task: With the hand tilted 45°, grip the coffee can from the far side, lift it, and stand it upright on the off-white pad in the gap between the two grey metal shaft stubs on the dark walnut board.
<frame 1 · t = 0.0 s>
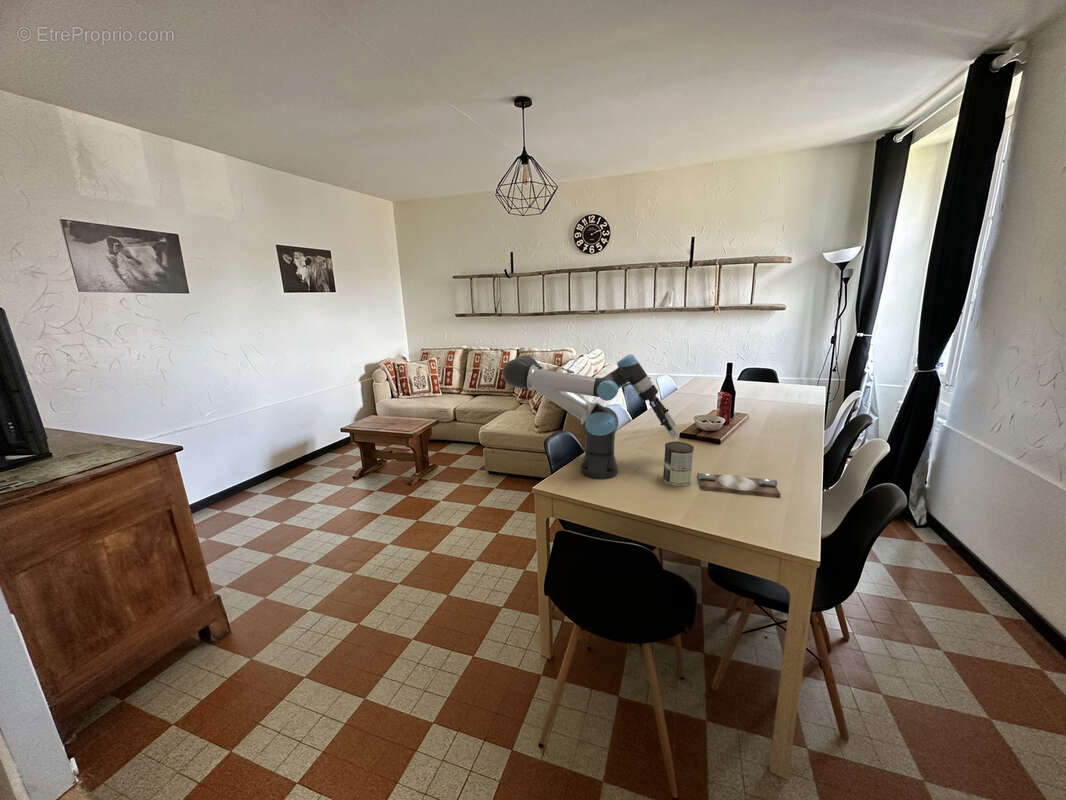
hand: (674, 431, 168), 15 cm above the table, tool tilted 35°, fingers open, 13 cm apart
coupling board: (736, 486, 152), on the table
coffee can: (676, 480, 158), on the table
shaft stubs: (736, 479, 152), on the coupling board, point 2 cm above the table
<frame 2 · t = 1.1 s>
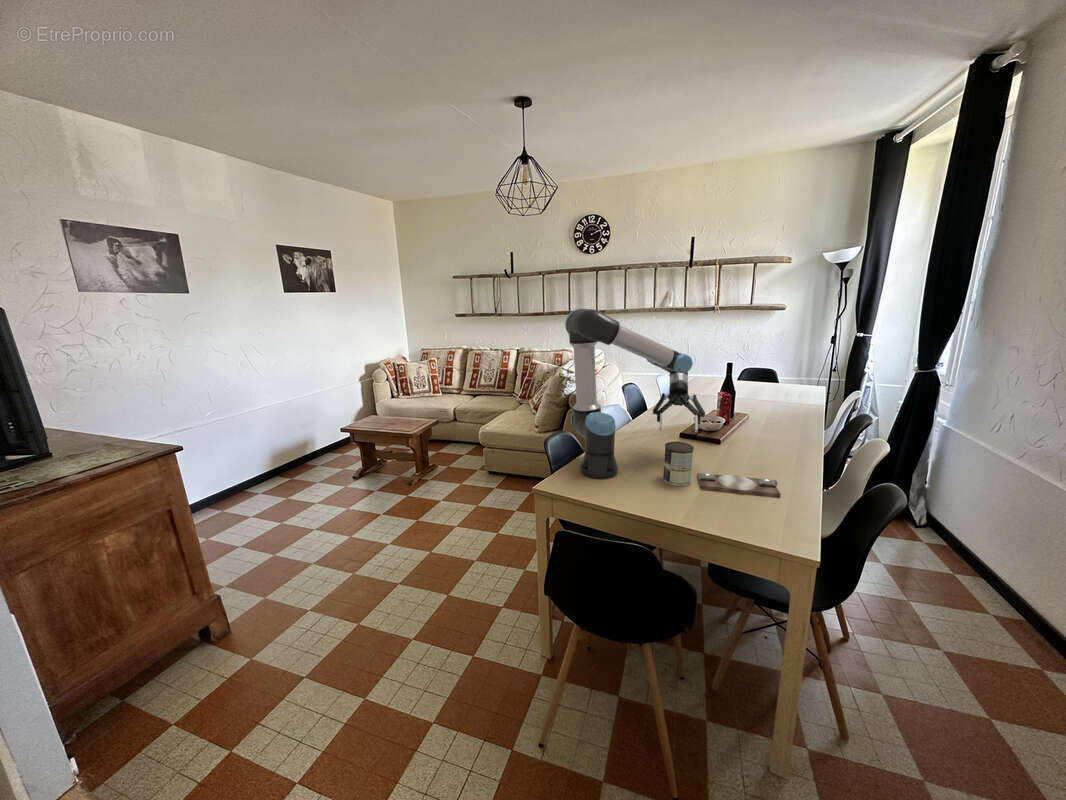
hand: (678, 429, 165), 17 cm above the table, tool tilted 45°, fingers open, 13 cm apart
nothing on the table moved.
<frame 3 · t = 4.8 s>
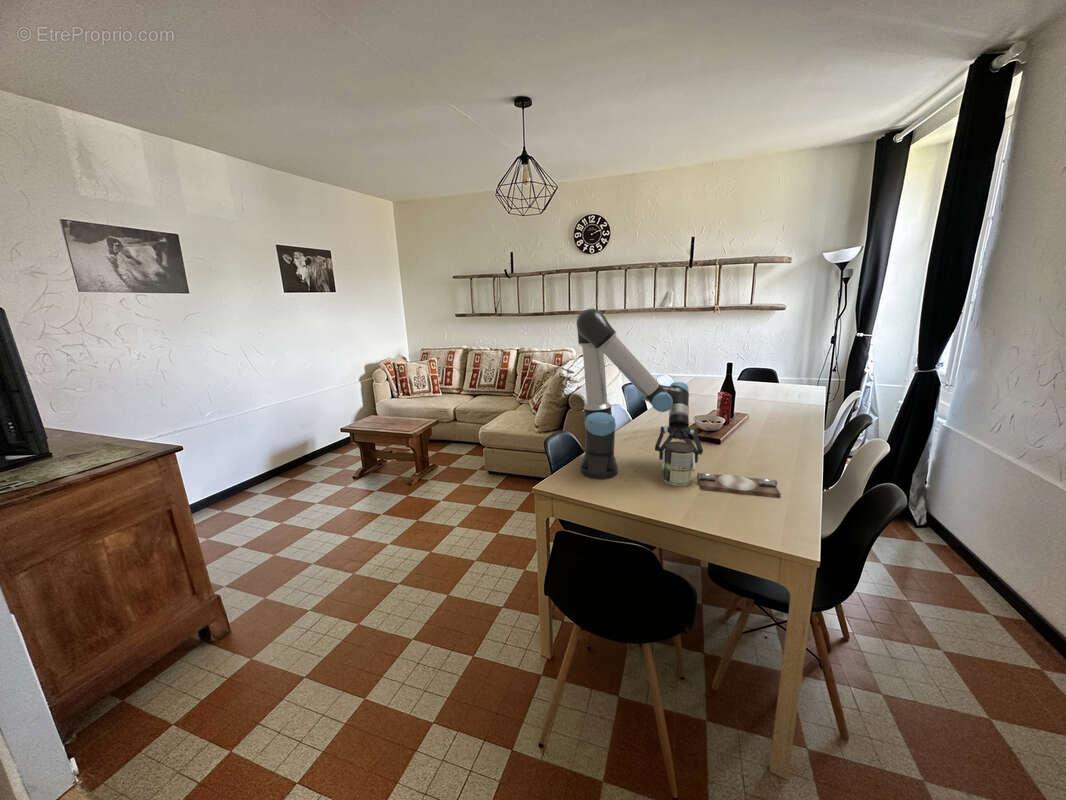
hand: (678, 468, 154), 6 cm above the table, tool tilted 45°, fingers closed on coffee can, 10 cm apart
coffee can: (676, 480, 158), on the table, touching gripper
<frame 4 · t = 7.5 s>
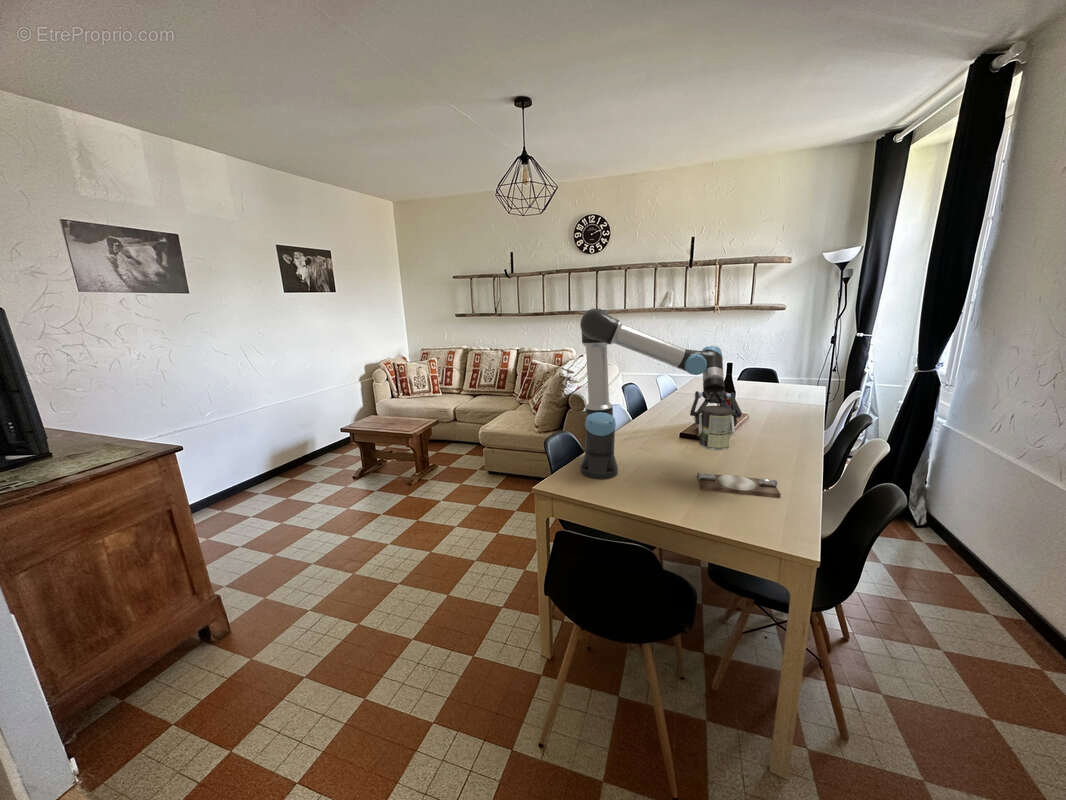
hand: (716, 432, 147), 21 cm above the table, tool tilted 45°, fingers closed on coffee can, 10 cm apart
coffee can: (713, 446, 152), point 15 cm above the table, touching gripper
when the fingers open (9 cm above the table, at t = 10.5 s): coffee can drops 1 cm, resting on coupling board.
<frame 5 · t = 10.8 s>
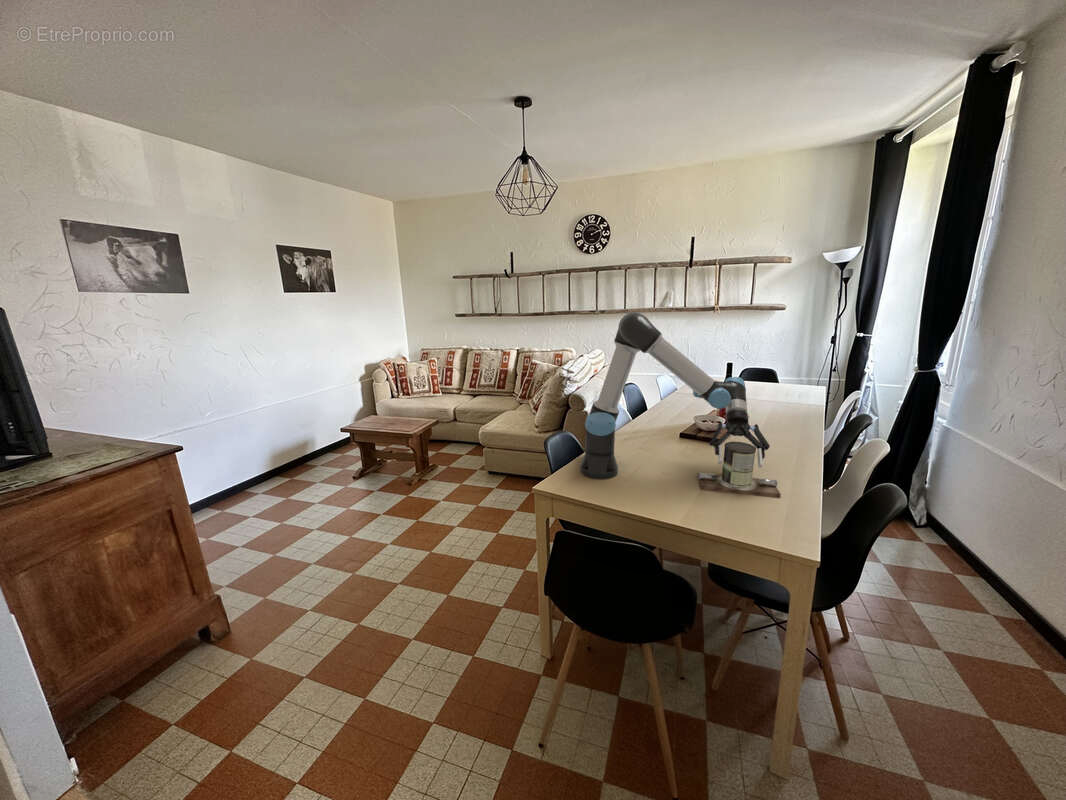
hand: (740, 464, 148), 10 cm above the table, tool tilted 45°, fingers open, 13 cm apart
coffee can: (736, 482, 152), point 1 cm above the table, touching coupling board
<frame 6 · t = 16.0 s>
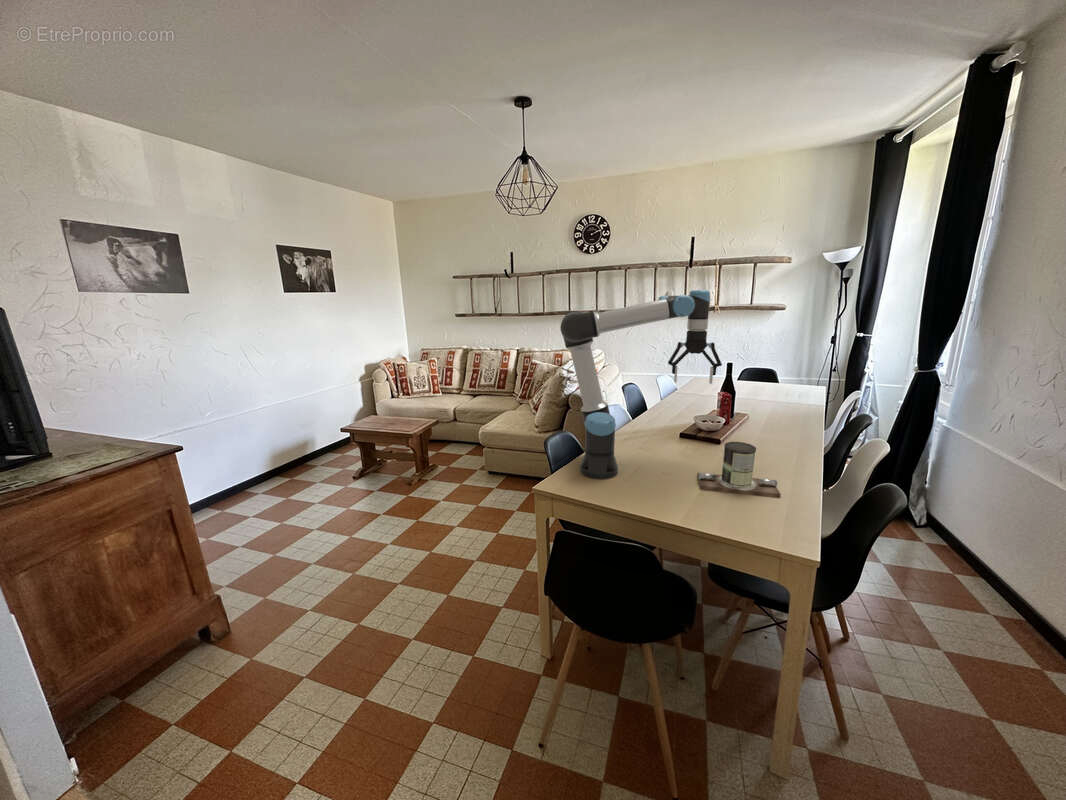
hand: (692, 382, 168), 35 cm above the table, tool pointing down, fingers open, 13 cm apart
nothing on the table moved.
at the end: coffee can 0.2 cm off-centre on the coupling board, point 1.5 cm above the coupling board's base; coffee can tilted 0°; the gripper is holding nothing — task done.
